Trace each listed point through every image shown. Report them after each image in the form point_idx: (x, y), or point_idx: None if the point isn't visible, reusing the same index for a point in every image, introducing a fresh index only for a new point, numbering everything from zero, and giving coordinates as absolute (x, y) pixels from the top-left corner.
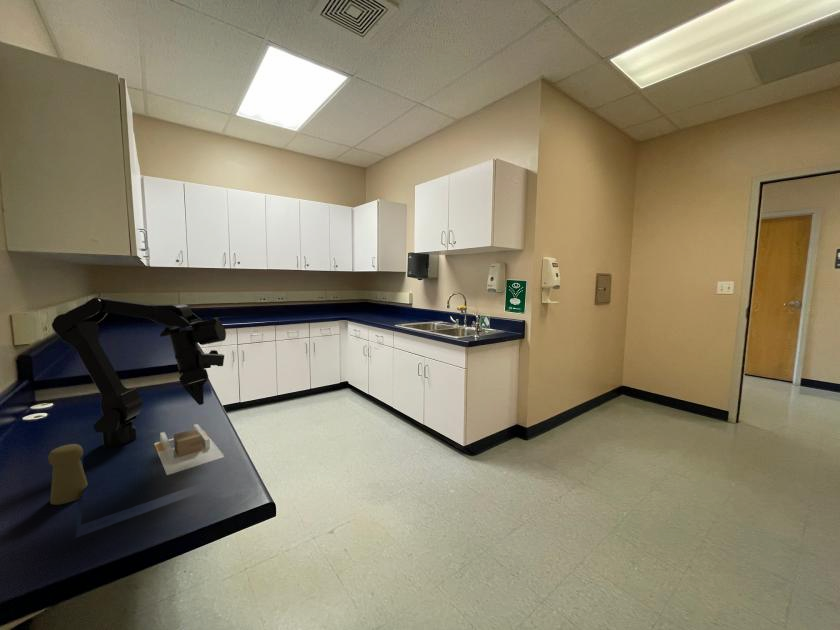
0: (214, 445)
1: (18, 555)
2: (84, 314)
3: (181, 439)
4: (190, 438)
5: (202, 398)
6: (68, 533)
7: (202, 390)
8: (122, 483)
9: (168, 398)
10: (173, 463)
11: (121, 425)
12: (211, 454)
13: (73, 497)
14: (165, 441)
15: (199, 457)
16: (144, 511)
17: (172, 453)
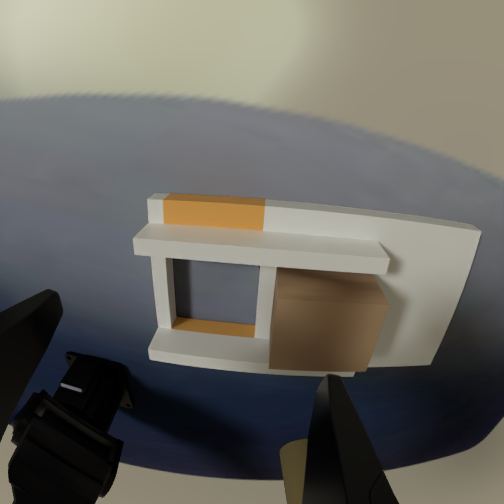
0: (370, 220)
1: (416, 461)
2: None
3: (353, 359)
4: (377, 337)
5: (358, 422)
6: (425, 441)
7: (389, 494)
8: None
9: None
10: (383, 348)
11: (96, 432)
12: (432, 255)
13: None
14: (258, 370)
15: (417, 289)
16: (477, 382)
17: None
